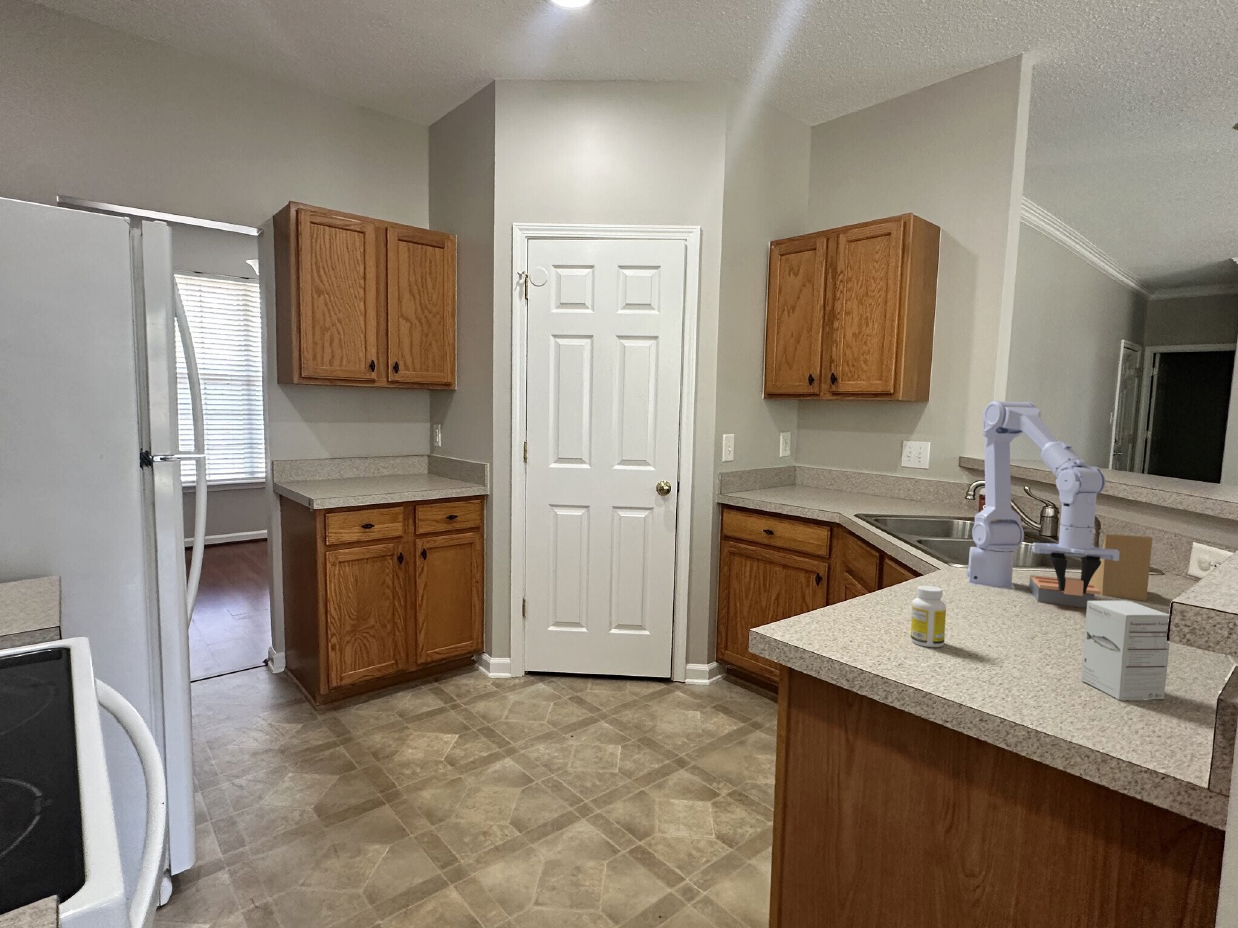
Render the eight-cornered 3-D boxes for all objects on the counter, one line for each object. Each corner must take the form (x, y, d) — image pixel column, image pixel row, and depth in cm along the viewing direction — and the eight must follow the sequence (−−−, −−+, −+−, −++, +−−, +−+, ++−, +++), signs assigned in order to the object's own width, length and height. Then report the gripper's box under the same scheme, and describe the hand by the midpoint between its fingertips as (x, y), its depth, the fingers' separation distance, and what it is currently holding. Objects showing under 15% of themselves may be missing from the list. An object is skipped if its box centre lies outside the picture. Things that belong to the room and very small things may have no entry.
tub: (1037, 604, 144) (1038, 588, 143) (1028, 590, 156) (1029, 575, 155) (1093, 611, 140) (1094, 594, 139) (1079, 596, 151) (1081, 581, 151)
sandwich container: (1130, 588, 161) (1135, 527, 160) (1147, 603, 147) (1153, 537, 146) (1087, 583, 165) (1092, 523, 163) (1100, 598, 151) (1106, 533, 150)
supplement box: (1078, 680, 101) (1084, 599, 100) (1123, 680, 102) (1130, 599, 101) (1118, 701, 94) (1125, 614, 93) (1166, 700, 95) (1174, 614, 94)
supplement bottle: (941, 640, 119) (945, 586, 118) (946, 650, 113) (949, 593, 113) (908, 636, 120) (912, 583, 120) (911, 645, 115) (914, 590, 115)
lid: (1043, 591, 137) (1044, 576, 137) (1030, 577, 153) (1030, 564, 153) (1105, 598, 133) (1106, 583, 133) (1085, 583, 149) (1086, 570, 149)
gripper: (1038, 525, 135) (1033, 590, 136) (1125, 531, 129) (1120, 600, 130) (1033, 520, 141) (1028, 583, 142) (1116, 526, 135) (1110, 592, 136)
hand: (1071, 590), depth 137 cm, fingers closed on lid, 3 cm apart
